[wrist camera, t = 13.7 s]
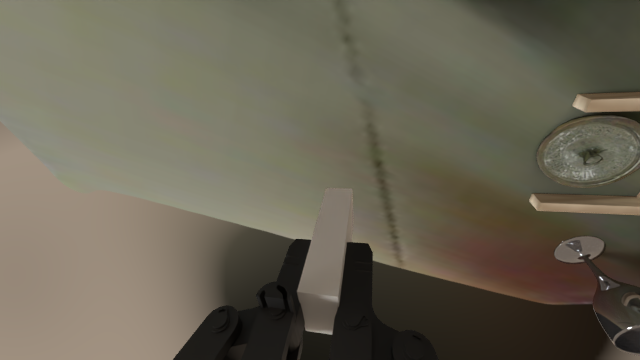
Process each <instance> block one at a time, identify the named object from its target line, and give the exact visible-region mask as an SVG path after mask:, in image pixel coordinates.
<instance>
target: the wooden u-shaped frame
mask: <svg viewBox="0 0 640 360" xmlns="http://www.w3.org/2000/svg"><path fill="white" fill-rule="evenodd" d="M572 106H573V107H575V108H578V109H580V110H582V111H584V112H617V111H640V92H623V93H594V94H577V96H576V99H575V101H574V103H573V105H572ZM529 201H530V202H531V204H532V205H533V206H534V207H535V209H536V210H537V211H557V212H579V213H602V214H625V215H640V193H639V194H638V195H637V197H633V196H602V195H571V194H540V193H532V195H531V198H530V200H529Z"/></svg>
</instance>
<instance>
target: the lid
mask: <svg viewBox="0 0 640 360" xmlns="http://www.w3.org/2000/svg"><path fill="white" fill-rule="evenodd" d="M536 157H537V162H538V165H539V168H540V169H541V170H542V171H543V173H544V174H545V175H546V176H548V177H549V178H550V179H552V180H553V181H555V182H557V183H559V184H563V185H565V186H570V187H576V188H577V187H579V188H592V187H598V186H602V185H607V184H610V183H613V182H616V181H619V180H621V179H623V178H625V177H627V176H628V175H630V174H632V173H633V172H635V171H636V170H638V169H639V168H640V123H638V122H637V121H635V120H631V119H629V118H625V117H621V116H615V115H593V116H586V117H581V118H577V119H573V120H570V121H568V122H566V123H563V124H562V125H560V126H558V127H557V128H556V129H554V130H553V131H552V132H551V133H550V134H549V135H548V136H547V137H546V138H545V139H544V140H543V141H542V142H541V144H540V146H539V148H538V151H537V155H536Z"/></svg>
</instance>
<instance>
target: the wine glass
mask: <svg viewBox="0 0 640 360" xmlns="http://www.w3.org/2000/svg"><path fill="white" fill-rule="evenodd" d="M604 250H605V243H604V242H603V240H601V239H599V238H597V237H593V236H579V237H574V238H571V239H568V240H566V241H564V242H562V243H561V244H559V245H558V246H557V247H556V249H555V251H554V256H555V258H556V259H557V260H559V261H560V262H563V263H567V264H581V263H587V265H588V266H589V267H590V269H591V270H592V272H593V273H594V275H595V277H596V279H597V289H596V292H595V294H594V297H593V307H594V311H595V313H596V315H597V318H598V320H599V321H600V323H601V325H602V327H603V329H604V330H605V332H606V333H607V335H608V336H609V338H610V339H611V341H612V342H613V343H614V344H615V346H616V347H617V348H618V349H619V350H621V351H623V352H625V353H628V354H633V355H638V356H640V287H637V286H634V285H630V284H626V283H623V282H619V281H616V280H614V279H612V278H610V277H608V276H607V275H605V274H604V273H603V272H602V271H601V270H600V269H599V268H597V267H596V266H595V265H594V263H593V262H592V260H594V259H596V258H598V257H599V256H600V255H601V254H602V253H603V252H604Z"/></svg>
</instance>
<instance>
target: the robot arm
mask: <svg viewBox="0 0 640 360" xmlns="http://www.w3.org/2000/svg"><path fill="white" fill-rule="evenodd" d="M352 231H353V194H352V189H345V188H326V190H325V194H324V197H323V201H322V204H321V208H320V212H319V215H318V219H317V222H316V226H315V229H314V233H313V236H312V240H306V239H296V240H295V241H294V242H293V243H292V244H291V245H290V246H289V249H288V252H287V254H286V257H285V260H284V264H283V266H282V268H281V271H280V273H279V276H278V279H277V282H271V283H269V284H266V285H265V286H263V287H262V288H261V289H260V290H259V291H258V293H257V295H256V297H257V300H258V302H259V305H260V306H258V307H255V308H252V309H247V310H242V311H237V310H236V309H235V308H234V307H232V306H222V307H219V308H217V309H215V310H213V311H212V312H211V313H210V314H209V315H208V316H207V317H206V319H205V320H204V321H203V322H202V324H201V325H200V326H199V328H198V329H197V330H196V331H195V332H194V334H193V335H192V336H191V338H190V339H189V340H188V341H187V343H186V344H185V345H184V346H183V348H182V349H181V350H180V351H179V353H178V354H177V355H176V356H175V358H174V359H173V360H300V356H301V351H302V346H303V339H302V334H303V329H304V325H305V329H306V331H312V332H318V333H325V334H332V340H331V347H330V355H329V360H439V359H438V357H437V355H436V352H435V350H434V348H433V346H432V344H431V343H430V341H429V340H428V339H427V338H426V337H425V336H424V335H423V334H420V333H418V332H416V331H412V330H405V331H402V332H399V331H397V330H394V329H392V328H390V327H388V326H387V325H385V324H383V323H382V322H381V321H380V320H379V319H378V318H377V317H376V315H375V313H374V311H373V308H372V258H373V252H372V250H371V248H370V246H369V244H367V243H353V242H351V240H352Z"/></svg>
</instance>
